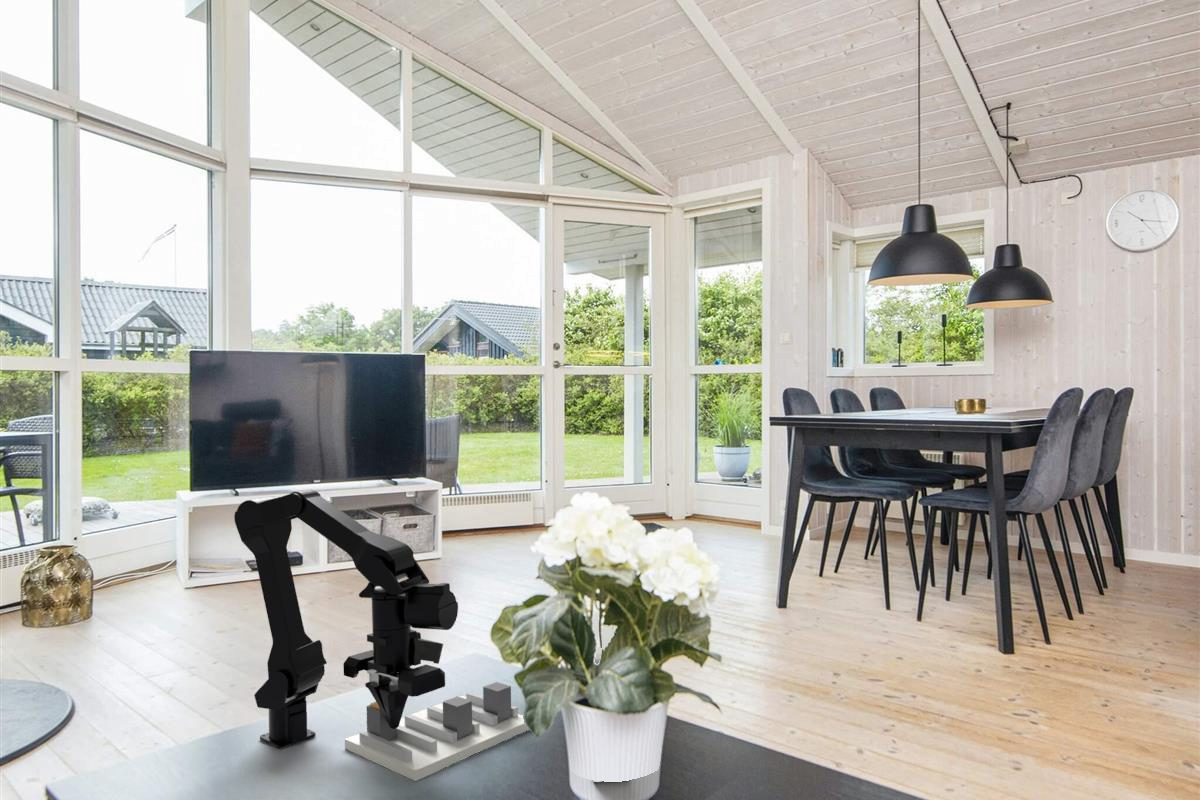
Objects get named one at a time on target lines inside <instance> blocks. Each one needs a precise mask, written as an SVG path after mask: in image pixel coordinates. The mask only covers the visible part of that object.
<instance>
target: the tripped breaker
mask: <svg viewBox="0 0 1200 800" xmlns="http://www.w3.org/2000/svg"><path fill="white" fill-rule="evenodd" d="M366 731H367V732H369V733H372V734H374V735H376V736H379V737H381V738H384V739H386V740H391V739H393V738H396V737H397V735H396V728H395V729H392V728H390V726H389V724H388V722H387V720H386V718H385V716H384V715H383V713H382V711H381V709H380V707H379V705H378V704H377V702H376V701H373V702H371V703H369V704H368V705H366Z"/></svg>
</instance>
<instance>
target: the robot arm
mask: <svg viewBox="0 0 1200 800" xmlns="http://www.w3.org/2000/svg"><path fill="white" fill-rule="evenodd" d="M233 517H234V524H235V527H236V529H237V532H238V534H239V538H240V540H241V542H242V543H243V545H244V546H246V547H247V549H248V550H249V551H250V552H251V553H252V554H253V556H254V559H255V564H256V568H257V573H258V578H259V581H260V582H259V583H260V587H261V591H262V595H263V601H264V606H265V611H266V616H267V620H268V625H269V629H270V634H271V638H272V645H271V648H270V649H271V650H270V652H269V655H268V659H267V664H266V665H267V675H268V679H266V681H265V682H264V683H263V684H262V685H261V687H260V688H258V690H257V691H256V692H255V693H254V699H255V703H256V706H257V708H259V709H267V710H268V732H267V733H263V734H261V735H259V739H260V740H261V741H263V742H265V743H267V744H270V745H271V746H273V747H275V748H276V749H282V748H286V747H289V746H291V745H295V744H297V743H299V742H303V741H305V740H308V739H311V738H314V737H316V735H317V734H316V731H313V730H311V729H309V728H308V713H307V712H308V711H307V708H308V707H307V704H308V703H307V697H308V696H310V695H313V694H315V693H317V689H318V688H319V687H318V686H319V683H320V682H321V680H322V679H323V677H324V676H325V665H326V664H327V663H328V662H327V660H326V658H325V656H324V651H323V643H322V642H321V640H320V639H317V640H315V641H313V640H312V639H311V638H310V637H309V636H308V634H306V632H305V628H304V622H303V618H302V613H301V609H300V605H299V600H298V596H297V591H296V590H297V589H296V585H295V581H294V577H293V573H292V567H291V562H290V559H289V553H288V549H287V548H288V547H287V546H288V543H289V540H290V536H291V533H292V529H293V527H292V520H294V519H298V520H299V521H302V522H303V523H305V525H307V526H308V527H310V528H311V529H313V530H314V531H316V532H317V533H319V534H320V535H321V536H323V537H324V538H325V539H327V540H328V541H330V543H332V544H333V545H335V546H337V547H338V548H339V549H341V550H342V551H343V552H344V553H346V554H347V555H348V556H349V557H351V559H352V562H353V564H354V566H355V569H356V570H357V571H358V572H359V573H360V574H361V575H362V576H363V577H364V578H365V579H366V580H367V582H368V583H367V585H366V586H365V588H363V589H362V590H361V591H360V592H359V593H358V597H359V598H361V599H371V622H372V625H371V626H372V633H368V634H366V642H368V643H372V649H370V650H368V651H363V652H359V653H356V654H352V655H350V656H347V658H346V659H345V661H344V662H343V676H345V677H347V678H352V679H354V678H356V677H357V676H358V675H359V674H360V673H359V672H361V671H366V673H367V674H368V676H369V677H368V679H369V681H368V682H365V683H364V685H365V688H367V689H368V690H369V693H370V694H371V696H372V697H373V699H374V700H375V702H377V704H378V705H379V707H380V709H381V711H382V713H383V715H384V716H385V718H386V720H387V722H388V724H389V726H390V728H392V729H395V728H398V726H399V724H400V720H401V718H403V713H404V711H405V706H406V703H407V700H408V698H409V697H420V696H422V695H424V694H428V693H431V692H433V691H436V690H439V689H442V688H444V687H446V672H445V671H444V670H443V669H442V668H441V667H437V666H433V665H429V664H423V665H421V664H422V661H425V662H432V663H433V664H438V665H439V664H440V659H441V656H442V653H443V652H442V651H443V646H444V643H441V642H439V641H438V642H437V641H434V640H429V639H424V638H422V634H421V632H419V631H417V630H414V629H424V630H425V629H426V630H439V631H440V630H443V631H447V630H448V631H449V630H451V629H452V628H453V626H454V625H455V623H456V621H457V618H458V613H459V602H458V601H457V598H456V596H455V593H453V592H452V591H451V590H450V588H451V587H450V583H448V582H441V583H430V580H429V578H428V577H427V575H426V574H425V573H424V570H423V569H422V567H420V564H419V563H418V562H417V560H416V558H415V557H414V551H413V549H412V548H411V547H410V546H409V545H408V544H406V543H405V542H402V541H400V540H398V539H395V538H394V537H391V536H388V535H384V534H381V533H380V534H379V533H376V532H374V531H371V530H369V528H366V527H365V526H364V525H362V524H361V523H359V522H358V521H356V520H355V519H354V518H353V517H351V516H350V515H348V514H346V513H345V512H344V511H342V510H341V509H340V508H338V507H336V506H335V505H333V504H332V503H330V501H328V500H327V499H325V498H323V497H322V496H321V494H320V493H319V492H318V491H317V490H314V489H312V488H311V489H302V490H297V491H296V490H295V491H292V492H289V493H288V494H286V495H283V496H277V495H275V496H269V497H261V498H260V497H259V498H255V499H249V500H247V499H246V500H245V501H243V502H241V503H240V504H239V505H238V507H237V509H236V511H235V512H234V516H233ZM405 578H406V579H405ZM403 579H404V580H403ZM400 580H401V581H400ZM411 628H413V629H411ZM418 665H420V666H418ZM412 666H417V667H414V668H412Z"/></svg>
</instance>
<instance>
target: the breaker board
mask: <svg viewBox="0 0 1200 800" xmlns="http://www.w3.org/2000/svg"><path fill="white" fill-rule="evenodd" d="M459 697H461V698H464V699H467V700H470V701H472V733H471V734H468V735H466V736H463V737H461V738H459V739H457V732H455V731H453V730H450V729H447V728H445V727H443V702H442V703H438V704H436V705H434V706H433V705H432V706H431V705H430V706H428V707H427V708H426V709H422V710H420V711H417V712H414V713H412V714H411V713H410V714H407V715H404V716H402V717H401V720H400V724H399V726H398V728H396V735H397V737H396V738H393V739H391V740H386V739H384V738H381V737H379V736H376V735H374V734H372V733H369V732H367V730H363V731H361V732H358V734H355V735H352V736H349V737H346V738H344V749H345V750H348V751H349V752H352V753H354V754H356V755H358V756H360V757H362V758H364V759H367V760H369V761H371V762H373V763H375V764H378V765H380V766H383V767H385V768H386V769H388V770H391V771H393V772H394V773H397V774H400V775H401V776H404V777H406V778H408V779H410V780H412V781H414V782H417V781H419V780H421V779H423V778H426V777H429V776H430V775H432V774H435V773H438V772H439V771H441V769H442V770H443V768H444V769H446V768H448V767H450V765H451V764H453V763H455V762H457V761H459V762H461V761H460V760H461V759H463V758H465V757H468V756H470V755H472V754H474V753H476V752H478V751H481V750H484V749H486V748H489V747H491V746H493V745H495V746H497V745H499V744H498V743H500V742H502V741H504V740H506V739H508V738H510V737H513V736H515V735H517V734H520V733H522V732H523V731H525V732H524V733H526V730H527V732H529V731H530V730H528V729H527V727H526V725H525V723H524V719H523V716H524V715H522V714H519V707H518V706H515V705H512V704H511V717H509V718H506V719H504V720H502V721H499V722H498V716H497V715H494V714H492V713H489V712H486V711H484V707H483V695H482V694H478V693H474V692H472V691H469V692H466V693H465V695H460V696H459ZM522 734H523V733H522ZM520 735H521V734H520ZM515 737H516V736H515ZM513 738H514V737H513ZM506 741H507V740H506ZM504 742H505V741H504ZM502 743H503V742H502ZM496 744H497V745H496ZM500 744H501V743H500ZM493 747H494V746H493ZM491 748H492V747H491ZM489 749H490V748H489ZM486 750H487V749H486ZM484 751H485V750H484ZM468 758H469V757H468ZM457 763H458V762H457ZM455 764H456V763H455ZM453 765H454V764H453ZM451 766H452V765H451ZM445 767H446V768H445Z"/></svg>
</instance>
